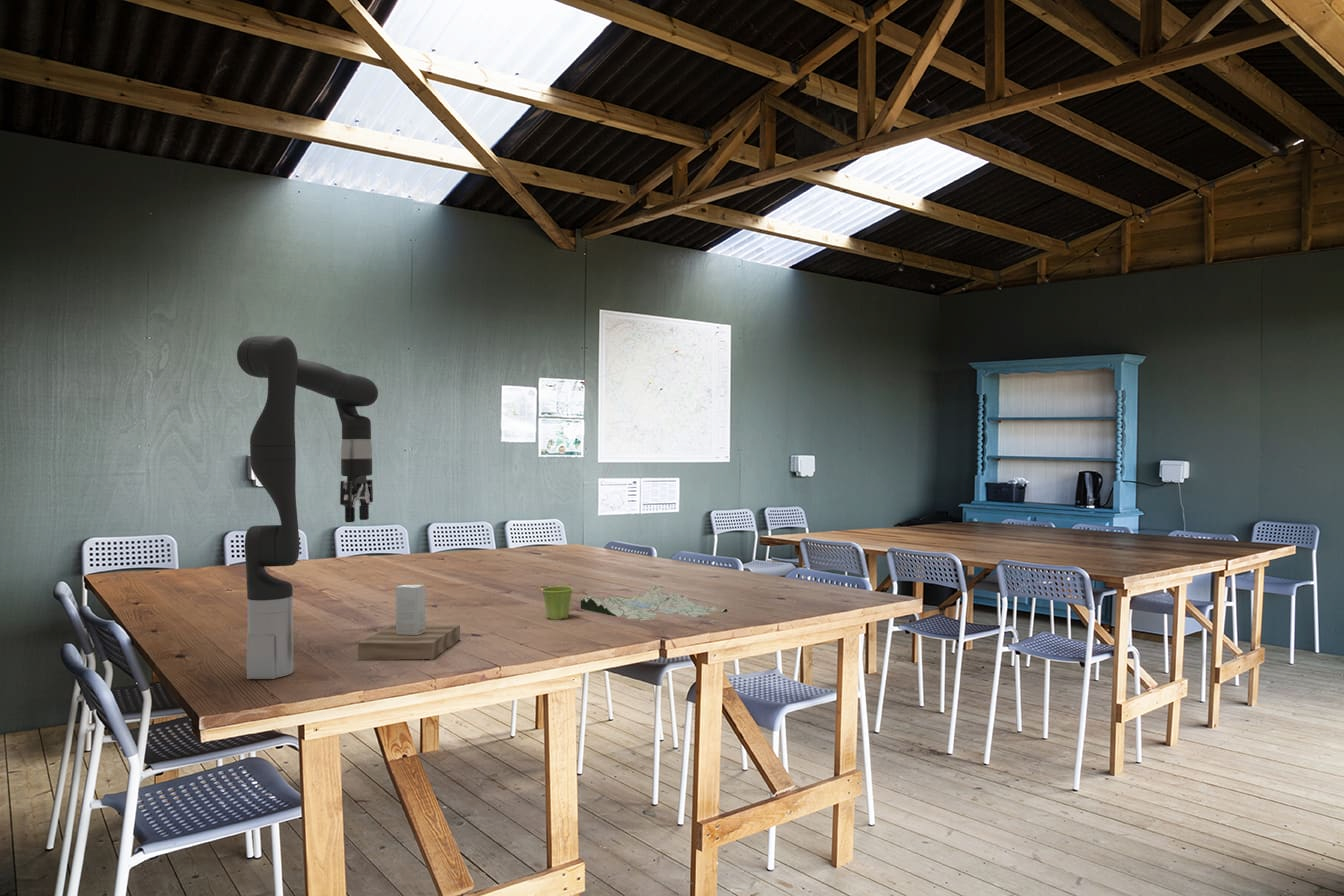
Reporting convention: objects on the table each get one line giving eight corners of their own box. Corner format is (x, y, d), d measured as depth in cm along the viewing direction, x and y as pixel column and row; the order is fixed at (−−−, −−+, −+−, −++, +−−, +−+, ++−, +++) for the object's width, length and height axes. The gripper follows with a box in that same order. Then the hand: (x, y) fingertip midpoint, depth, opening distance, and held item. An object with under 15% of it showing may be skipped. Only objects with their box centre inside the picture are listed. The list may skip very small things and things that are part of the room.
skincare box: (426, 632, 221) (425, 584, 221) (417, 635, 217) (417, 587, 217) (404, 631, 223) (403, 584, 223) (395, 634, 218) (394, 586, 218)
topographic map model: (727, 613, 268) (727, 597, 268) (653, 626, 248) (653, 609, 248) (652, 599, 295) (652, 584, 295) (580, 610, 275) (580, 594, 275)
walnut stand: (432, 659, 208) (432, 643, 208) (358, 659, 209) (357, 643, 209) (460, 640, 230) (459, 624, 230) (392, 640, 231) (392, 625, 231)
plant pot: (571, 621, 255) (571, 591, 255) (539, 621, 256) (538, 591, 256) (575, 615, 265) (575, 586, 265) (544, 615, 265) (544, 586, 265)
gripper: (359, 457, 217) (359, 523, 217) (382, 457, 231) (382, 518, 231) (329, 457, 217) (330, 523, 217) (354, 457, 231) (354, 519, 231)
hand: (357, 521), depth 224 cm, fingers open, 8 cm apart
